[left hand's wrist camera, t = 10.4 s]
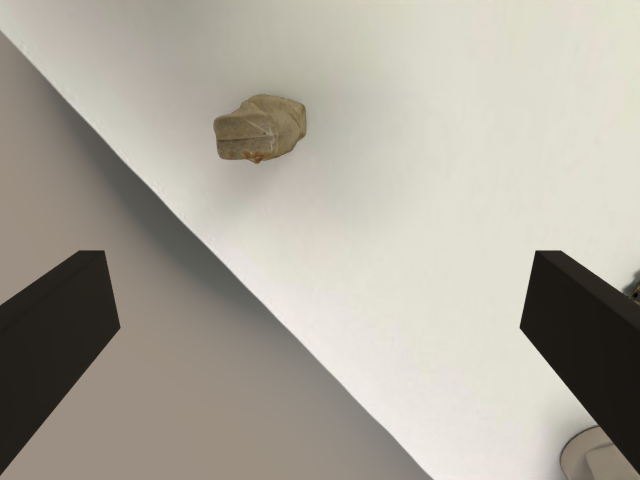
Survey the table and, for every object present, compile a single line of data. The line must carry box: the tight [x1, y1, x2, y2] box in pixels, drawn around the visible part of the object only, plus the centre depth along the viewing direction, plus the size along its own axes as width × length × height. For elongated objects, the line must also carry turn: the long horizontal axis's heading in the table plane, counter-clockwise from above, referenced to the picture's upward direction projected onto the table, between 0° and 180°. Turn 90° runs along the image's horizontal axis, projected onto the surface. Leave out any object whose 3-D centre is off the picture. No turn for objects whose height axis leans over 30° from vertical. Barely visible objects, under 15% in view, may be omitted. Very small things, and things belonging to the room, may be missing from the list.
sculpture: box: [214, 94, 306, 164], centre depth 38 cm, size 6×7×15 cm
